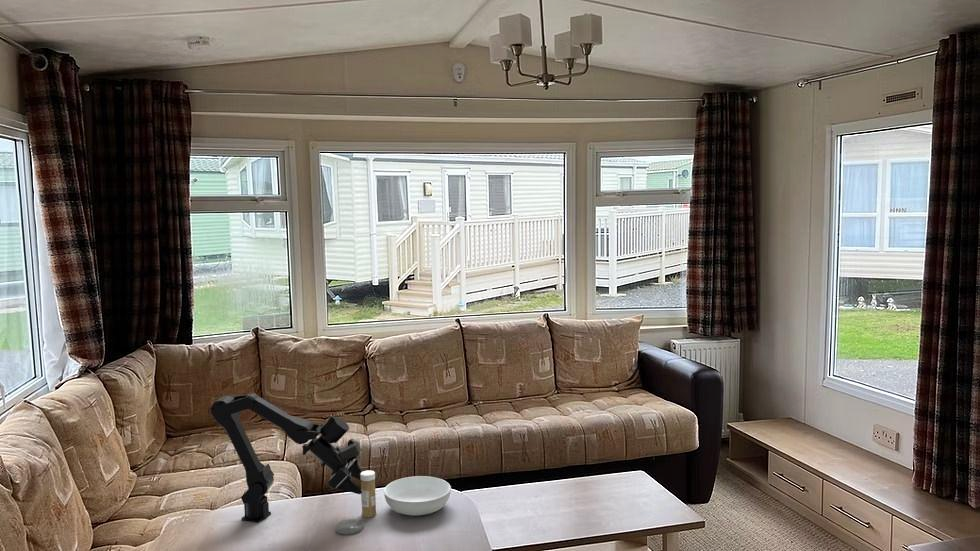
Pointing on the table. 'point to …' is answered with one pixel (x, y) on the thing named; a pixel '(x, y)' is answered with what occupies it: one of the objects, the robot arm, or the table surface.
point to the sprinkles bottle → (368, 493)
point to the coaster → (349, 527)
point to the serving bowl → (417, 495)
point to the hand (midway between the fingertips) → (364, 487)
